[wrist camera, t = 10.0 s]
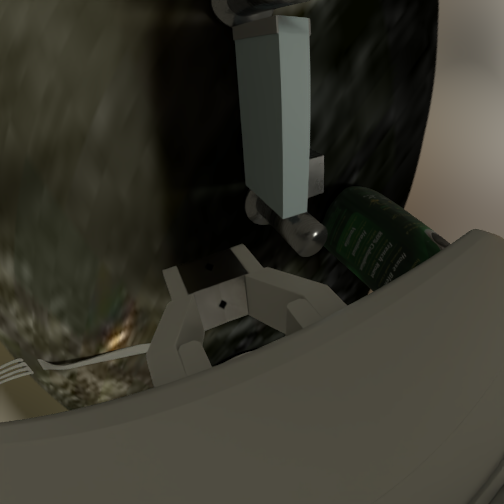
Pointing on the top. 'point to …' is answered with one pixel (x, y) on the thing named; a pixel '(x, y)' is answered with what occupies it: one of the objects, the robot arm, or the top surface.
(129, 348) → the fork
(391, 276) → the coffee jar
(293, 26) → the grey flat block
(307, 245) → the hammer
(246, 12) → the round knob
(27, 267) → the top surface
